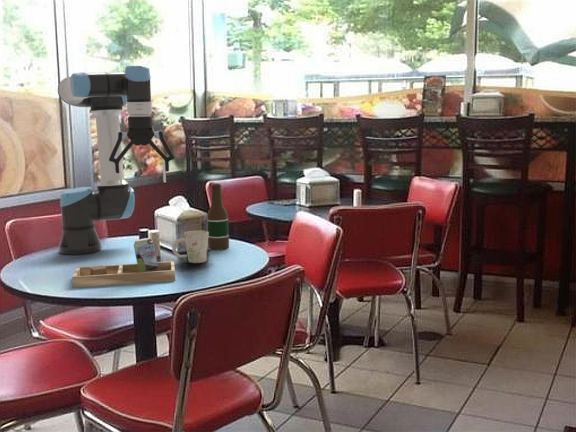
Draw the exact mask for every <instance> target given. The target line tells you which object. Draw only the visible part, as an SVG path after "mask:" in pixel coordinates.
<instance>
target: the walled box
mask: <svg viewBox="0 0 576 432" xmlns="http://www.w3.org/2000/svg"><path fill="white" fill-rule="evenodd" d="M157 264H158V269H159V271H151V272H139V270H138V265H137V263H124V264H121V263H120V264H110V265H109V264H108V265H107V264H106V265H103V266H104V267H106V269H107V274H105V275H90V267H94V266H95V265H94V266H90V265H89V266H77V267H76V269H75V271H74V272H73V274H72V277H71V282H72V288H81V287H82V288H84V287H85V288H86V287H97V286H99V287H100V286H113V285H115V286H116V285H127V284H129V285H130V284H143V283H144V284H145V283H158V282H159V283H160V282H171V281H172V282H173V281H176V270H175V267H176V266H175V261H174V260H171V261H170V260H169V261H157Z"/></svg>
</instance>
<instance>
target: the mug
mask: <svg viewBox="0 0 576 432" xmlns="http://www.w3.org/2000/svg"><path fill="white" fill-rule="evenodd" d="M208 234H209V233H208V230H207V231H206V230H201V229H199V230H189V231H185V232H184V233H183V237H182V238H177V239H176V240H174V242H173V243H172V247H171V250H172V253H173V254H174V255H175V257H177V258H181V259H182V258H187V259H188V260H187V261H188V263H191V264H200V263H201V264H202V263H206V262H207V256H208ZM179 243H184V244H185V248H186V254H180V253H179V252H178V251H177V245H178V244H179Z"/></svg>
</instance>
